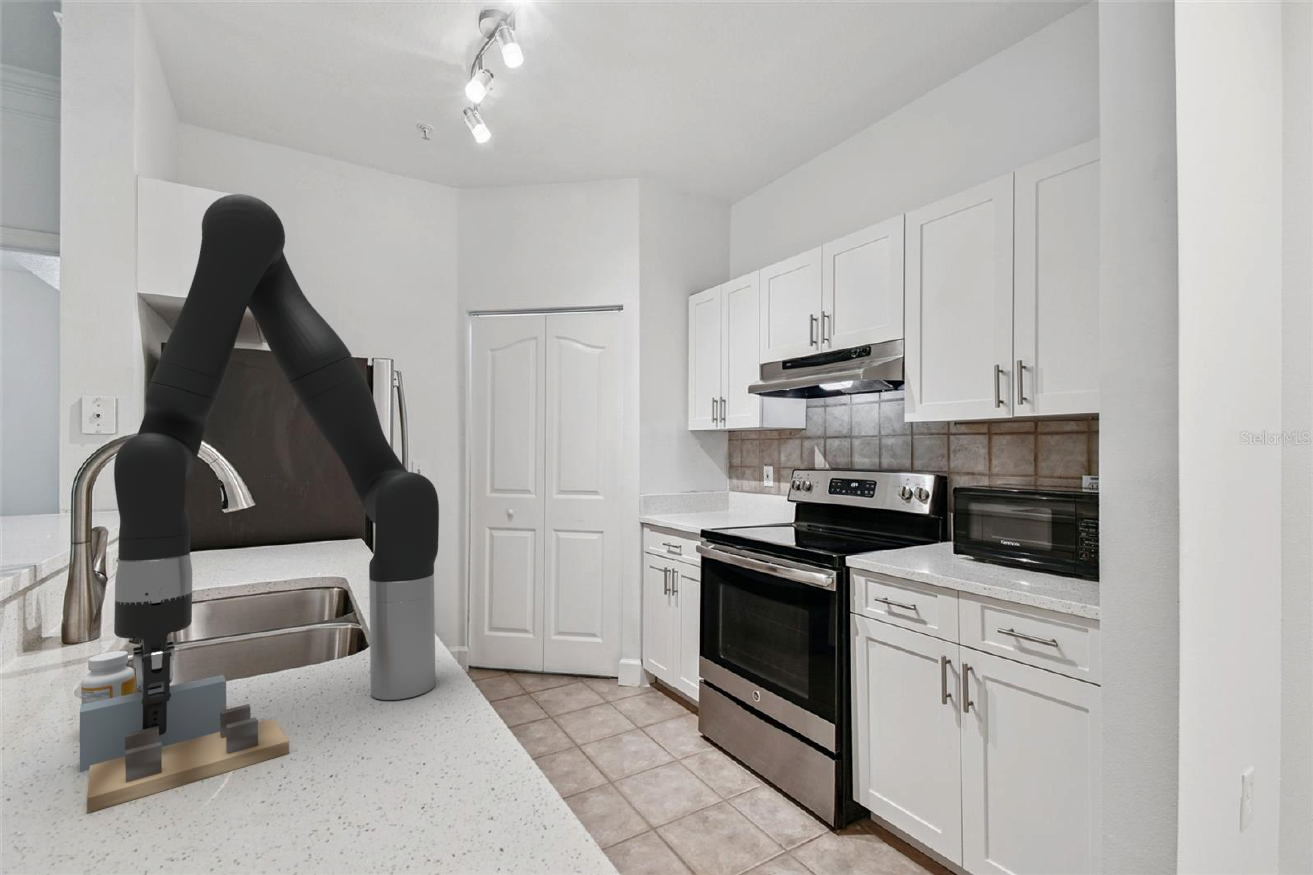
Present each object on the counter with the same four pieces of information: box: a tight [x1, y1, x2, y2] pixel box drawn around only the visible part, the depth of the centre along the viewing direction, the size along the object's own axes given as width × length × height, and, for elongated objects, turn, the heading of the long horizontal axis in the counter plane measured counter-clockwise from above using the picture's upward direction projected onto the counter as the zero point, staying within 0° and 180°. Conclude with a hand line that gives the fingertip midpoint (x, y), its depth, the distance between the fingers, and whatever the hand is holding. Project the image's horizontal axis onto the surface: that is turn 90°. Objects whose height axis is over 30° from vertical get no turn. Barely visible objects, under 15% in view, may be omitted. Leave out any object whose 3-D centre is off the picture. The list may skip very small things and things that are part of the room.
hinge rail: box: [86, 703, 290, 814], centre depth 72 cm, size 18×9×4 cm, turn 131°
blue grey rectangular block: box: [79, 674, 227, 773], centre depth 77 cm, size 14×3×7 cm, turn 131°
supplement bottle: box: [80, 650, 136, 706], centre depth 83 cm, size 5×5×10 cm
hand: (152, 724), depth 77 cm, fingers open, 8 cm apart
